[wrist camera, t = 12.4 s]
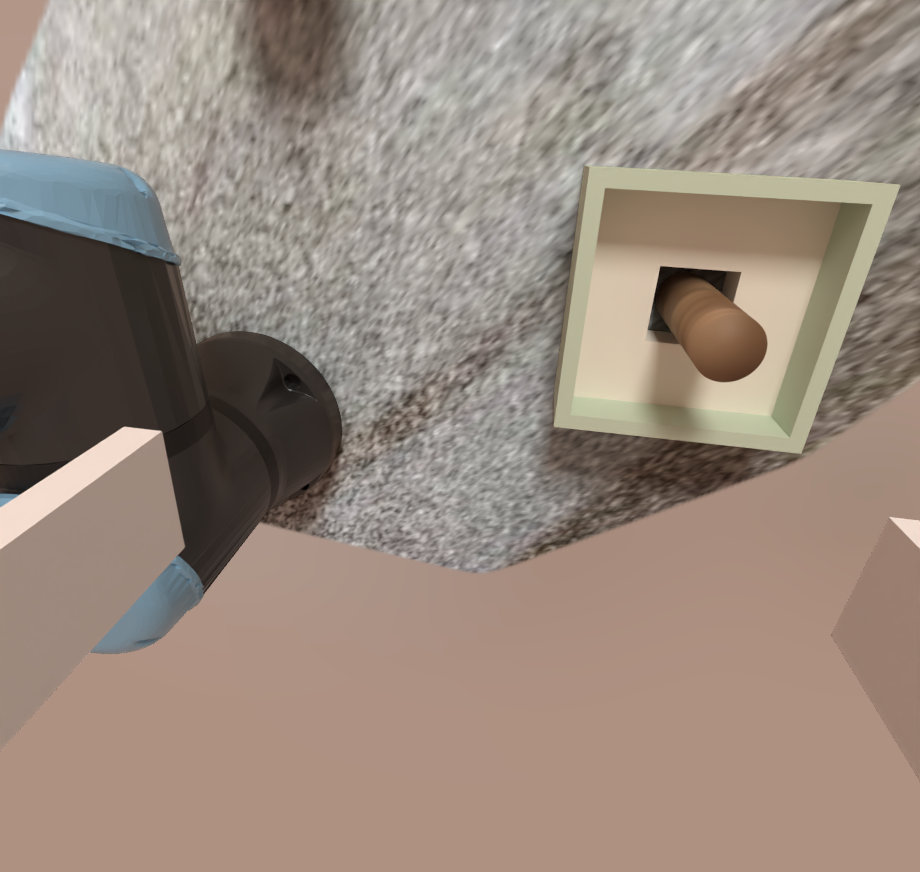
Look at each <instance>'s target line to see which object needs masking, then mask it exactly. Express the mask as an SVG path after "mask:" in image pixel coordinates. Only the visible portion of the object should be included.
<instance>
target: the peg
mask: <svg viewBox="0 0 920 872" xmlns="http://www.w3.org/2000/svg"><path fill="white" fill-rule="evenodd" d="M655 303H656V308H657V310H658V312H659V314H660V315H661V317H662V318H663V320H664V321H665V323H666V324H667V325H668V327H669V328H670V330H671V331H672V333H673V334H674V336H675V337H676V339H677V340H678V342H679V343H680V345H681V346H682V348H683V349H684V351H685V352H686V353H687V355H688V356H689V358H690V359H691V361H692V362H693V364H694V365H695V367H696V368H697V370H698V371H699V372H700V373H701V374H702V375H703V376H704V377H706V378H708V379H710V380H712V381H716V382H733V381H737V380H740V379H742V378H744V377H746V376H748V375H749V374H751V373H752V372H753V371H755V370H756V369H757V368H758V366H759V365H760V364H761V362H762V361H763V359H764V357H765V355H766V351H767V345H768V343H767V336H766V333H765V331H764V329H763V328H762V326H761V325H760V324H759V323H758V322H757V321H755V320H754V319H753V318H752V317H750V316H749V315H748V314H747V313H745V312H744V311H743V310H742V309H741V308H739V307H738V306H737V305H736V304H734V303H733V302H732V301H731V300H729V299H728V298H727V297H726V296H724V295H723V294H722V293H721V292H720V291H718V290H717V289H716V288H715V287H713V286H712V285H711V284H710V283H708V282H707V281H706V280H705V279H703V278H702V277H701V276H699V275H698V274H696V273H693V272H679V273H676V274H673V275H671V276H670V277H668V278H667V279H666V280H665V281H664V282H663V283H662V284H661V285H660V287H659V289H658V291H657V294H656V299H655Z"/></svg>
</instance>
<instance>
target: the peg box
mask: <svg viewBox="0 0 920 872" xmlns="http://www.w3.org/2000/svg"><path fill="white" fill-rule="evenodd" d="M899 188H900V185H896V184H884V183H873V182H861V181H850V180H835V179H817V178H800V177H782V176H764V175H746V174H729V173H711V172H693V171H676V170H658V169H640V168H623V167H605V166H587V165H584V170H583V178H582V185H581V193H580V200H579V208H578V215H577V223H576V230H575V237H574V245H573V252H572V260H571V267H570V275H569V282H568V290H567V297H566V304H565V312H564V319H563V327H562V334H561V342H560V349H559V357H558V364H557V371H556V379H555V386H554V427H560V428H569V429H578V430H587V431H597V432H606V433H615V434H624V435H634V436H643V437H652V438H661V439H671V440H680V441H689V442H698V443H708V444H717V445H726V446H735V447H745V448H754V449H763V450H772V451H782V452H791V453H800V454H801V453H802V450H803V447H804V445H805V442H806V439H807V437H808V434H809V431H810V428H811V426H812V423H813V420H814V418H815V415H816V412H817V410H818V407H819V404H820V401H821V399H822V396H823V393H824V391H825V388H826V385H827V382H828V380H829V377H830V374H831V372H832V369H833V366H834V363H835V361H836V358H837V355H838V353H839V350H840V347H841V345H842V342H843V339H844V336H845V334H846V331H847V328H848V326H849V323H850V320H851V317H852V315H853V312H854V309H855V307H856V304H857V301H858V299H859V296H860V293H861V290H862V288H863V285H864V282H865V280H866V277H867V274H868V271H869V269H870V266H871V263H872V261H873V258H874V255H875V253H876V250H877V247H878V244H879V242H880V239H881V236H882V234H883V231H884V228H885V225H886V223H887V220H888V217H889V215H890V212H891V209H892V206H893V204H894V201H895V198H896V196H897V193H898V190H899ZM660 266H667V267H681V268H694V269H707V270H721V271H727V272H726V276H725V280H724V284H723V288H722V292H721V293H722V294H723V295H724V296H726V297H727V298H728V299H729V300H731V301H732V302H733V303H734V304H736V305H737V306H738V307H739V308H741V309H742V310H743V311H744V312H745V313H747V314H748V315H749V316H750V317H752V318H753V319H754V320H755V321H757V322H758V323H759V324H760V325H761V326H762V328H763V329H764V331H765V333H766V336H767V343H768V345H767V351H766V355H765V357H764V359H763V361H762V362H761V364H760V365H759V366H758V368H757V369H756V370H755V371H753V372H752V373H751V374H749V375H748V376H746V377H744V378H742V379H740V380H737V381H733V382H716V381H712V380H710V379H708V378H706V377H704V376H703V375H702V374H701V373H700V372H699V371H698V370H697V368H696V367H695V365H694V364H693V362H692V361H691V359H690V358H689V356H688V355H687V353H686V352H685V351H684V349H683V348H682V346H681V345H680V343H679V342H678V340H677V339H676V337H675V336H674V334H673V333H672V332H665V331H653V330H647V329H648V324H649V319H650V314H651V309H652V304H653V300H654V295H655V290H656V285H657V280H658V275H659V270H660Z"/></svg>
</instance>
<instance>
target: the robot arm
mask: <svg viewBox="0 0 920 872" xmlns="http://www.w3.org/2000/svg"><path fill="white" fill-rule="evenodd" d="M180 265H181V260H180V258H179V256H178V255H177V254H176V253H175V252H174V249H173V246H172V243H171V240H170V237H169V234H168V230H167V227H166V223H165V220H164V216H163V213H162V209H161V206H160V203H159V200H158V197H157V196H156V194H155V192H154V191H153V189H152V188H151V186H150V185H149V184H148V183H147V182H146V181H145V180H144V179H143V178H141V177H140V176H139V175H137V174H136V173H134V172H132V171H130V170H128V169H126V168H124V167H121V166H117V165H113V164H108V163H103V162H97V161H90V160H84V159H77V158H70V157H62V156H54V155H46V154H38V153H29V152H21V151H12V150H2V149H0V751H1V750H2V749H3V748H4V747H5V746H6V744H7V743H8V742H9V741H10V740H11V739H12V738H13V737H14V736H15V735H16V733H17V732H18V731H19V730H20V729H21V728H22V727H23V726H24V725H25V723H26V722H27V721H28V720H29V719H30V718H31V717H32V716H33V714H35V712H36V711H37V710H38V709H39V708H40V707H41V706H42V705H43V704H44V702H45V701H46V700H47V699H48V698H49V697H50V696H51V695H52V694H53V692H54V691H55V690H56V689H57V688H58V687H59V686H60V685H61V684H62V683H63V681H64V680H65V679H66V678H67V677H68V676H69V675H70V674H71V673H72V671H73V670H74V669H75V668H76V667H77V666H78V665H79V664H80V663H81V662H82V660H83V659H84V658H85V657H86V656H87V655H88V654H89V653H90V652H91V653H101V654H119V653H127V652H132V651H136V650H140V649H142V648H145V647H147V646H149V645H152V644H154V643H155V642H156V641H158V640H159V639H161V638H162V637H164V636H165V635H166V634H167V633H168V632H169V631H170V630H171V629H172V628H173V626H174V625H175V624H176V623H177V622H178V621H179V620H180V619H181V618H182V617H183V616H184V614H185V613H186V612H187V611H189V610H190V609H192V608H193V607H194V606H196V605H198V603H199V602H200V601H201V599H202V597H203V595H204V593H205V592H206V591H207V589H208V588H209V587H210V586H211V584H212V583H213V582H214V580H215V579H216V578H217V577H218V575H219V574H220V573H221V571H222V570H223V569H224V567H225V566H226V565H227V563H228V562H229V561H230V560H231V558H232V557H233V556H234V554H235V553H236V552H237V551H238V549H239V548H240V547H241V545H242V544H243V543H244V542H245V540H246V539H247V538H248V536H249V535H250V534H251V532H252V531H253V530H254V529H255V527H256V526H257V525H258V523H259V522H260V521H261V519H262V518H263V517H264V516H265V514H266V513H267V512H268V511H269V510H271V509H273V508H275V507H277V506H279V505H281V504H283V503H285V502H287V501H288V500H290V499H293V498H295V497H297V496H299V495H301V494H303V493H305V492H306V491H308V490H309V489H310V488H312V487H313V486H314V485H315V484H316V483H317V482H318V481H319V480H320V479H321V478H322V476H323V475H324V474H325V472H326V471H327V469H328V468H329V467H330V465H331V464H332V462H333V461H334V459H335V457H336V455H337V452H338V449H339V446H340V441H341V418H340V412H339V408H338V405H337V402H336V399H335V397H334V395H333V393H332V391H331V389H330V387H329V385H328V383H327V382H326V380H325V379H324V377H323V376H322V375H321V373H320V372H319V371H318V370H317V369H316V367H315V366H314V365H313V364H312V363H311V362H310V361H309V360H307V359H306V358H305V357H304V356H303V355H302V354H300V353H299V352H298V351H296V350H295V349H293V348H292V347H290V346H288V345H287V344H285V343H283V342H281V341H279V340H277V339H274V338H272V337H269V336H266V335H262V334H258V333H253V332H243V331H234V332H226V333H221V334H218V335H215V336H212V337H210V338H208V339H205V340H204V341H202V342H200V343H198V344H196V340H195V335H194V331H193V327H192V322H191V318H190V314H189V309H188V305H187V300H186V296H185V292H184V287H183V283H182V279H181V274H180V270H179V266H180ZM831 636H832V638H833V639H834V641H835V643H836V644H837V646H838V647H839V649H840V651H841V652H842V654H843V656H844V657H845V659H846V661H847V662H848V664H849V666H850V667H851V669H852V671H853V672H854V674H855V675H856V677H857V679H858V680H859V682H860V684H861V685H862V687H863V689H864V690H865V692H866V693H867V695H868V697H869V699H870V700H871V702H872V703H873V705H874V707H875V708H876V710H877V712H878V713H879V715H880V716H881V718H882V720H883V721H884V723H885V725H886V726H887V728H888V730H889V731H890V733H891V735H892V736H893V738H894V739H895V741H896V743H897V744H898V746H899V748H900V749H901V751H902V753H903V754H904V756H905V758H906V759H907V761H908V762H909V764H910V766H911V767H912V769H913V771H914V772H915V774H916V776H917V777H918V779H919V781H920V521H917V520H908V519H900V518H891V517H889V519H888V521H887V523H886V525H885V527H884V529H883V531H882V533H881V535H880V537H879V539H878V541H877V543H876V545H875V547H874V549H873V551H872V553H871V555H870V557H869V559H868V561H867V563H866V565H865V567H864V569H863V571H862V573H861V575H860V577H859V579H858V581H857V583H856V585H855V587H854V589H853V591H852V594H851V595H850V598H849V599H848V601H847V604H846V605H845V607H844V609H843V612H842V614H841V616H840V618H839V620H838V622H837V624H836V626H835V628H834V630H833V632H832V634H831Z"/></svg>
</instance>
